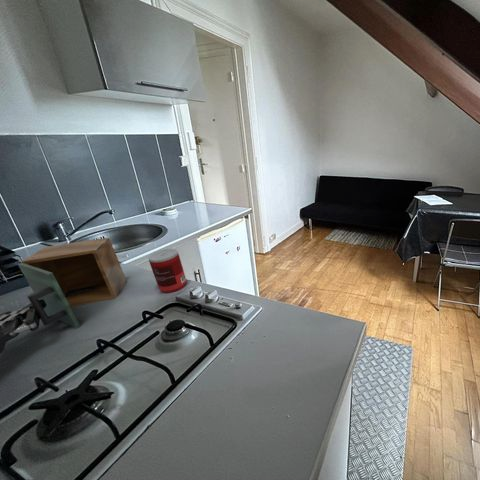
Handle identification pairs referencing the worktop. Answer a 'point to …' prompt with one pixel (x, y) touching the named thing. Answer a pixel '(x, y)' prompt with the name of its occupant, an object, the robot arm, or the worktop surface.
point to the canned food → (167, 270)
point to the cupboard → (82, 269)
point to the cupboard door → (48, 296)
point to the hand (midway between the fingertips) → (41, 302)
